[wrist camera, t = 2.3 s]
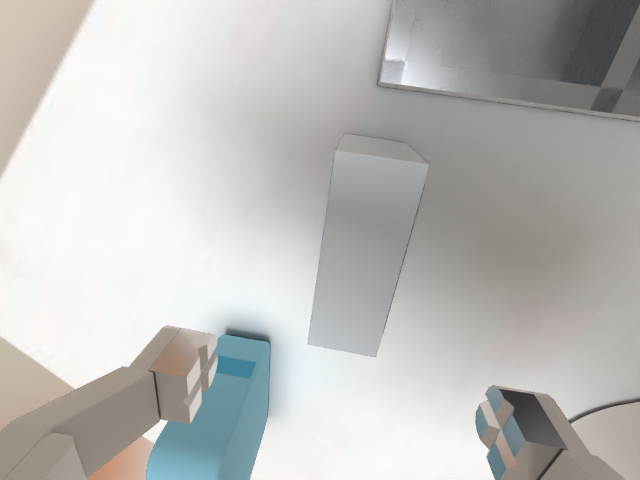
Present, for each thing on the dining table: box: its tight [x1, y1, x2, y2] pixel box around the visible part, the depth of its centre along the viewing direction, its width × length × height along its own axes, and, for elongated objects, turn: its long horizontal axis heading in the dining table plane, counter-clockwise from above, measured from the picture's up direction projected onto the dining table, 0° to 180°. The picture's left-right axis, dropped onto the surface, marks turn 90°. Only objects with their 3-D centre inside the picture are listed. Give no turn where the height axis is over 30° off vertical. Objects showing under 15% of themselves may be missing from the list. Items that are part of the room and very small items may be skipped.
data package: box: [146, 335, 270, 480], centre depth 25 cm, size 12×4×12 cm, turn 174°
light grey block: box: [307, 133, 430, 357], centre depth 19 cm, size 4×11×8 cm, turn 173°
